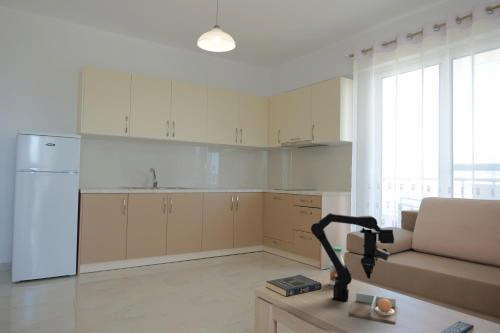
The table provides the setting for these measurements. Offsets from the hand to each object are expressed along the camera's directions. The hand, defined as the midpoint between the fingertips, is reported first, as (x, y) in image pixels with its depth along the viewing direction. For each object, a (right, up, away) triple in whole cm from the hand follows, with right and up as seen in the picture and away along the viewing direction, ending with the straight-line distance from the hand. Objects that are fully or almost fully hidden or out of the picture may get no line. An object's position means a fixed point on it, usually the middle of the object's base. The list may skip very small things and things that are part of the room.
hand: (369, 275), depth 161 cm
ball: (+1, -7, -16) cm, 18 cm away
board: (-3, -11, -14) cm, 18 cm away
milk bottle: (-9, -13, +25) cm, 30 cm away
